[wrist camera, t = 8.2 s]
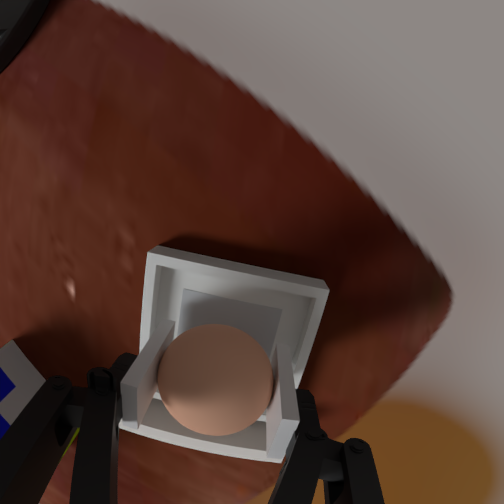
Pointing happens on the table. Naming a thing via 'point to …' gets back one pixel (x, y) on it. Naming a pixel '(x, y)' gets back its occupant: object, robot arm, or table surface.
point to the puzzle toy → (17, 385)
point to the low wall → (203, 435)
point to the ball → (215, 379)
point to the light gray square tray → (232, 302)
